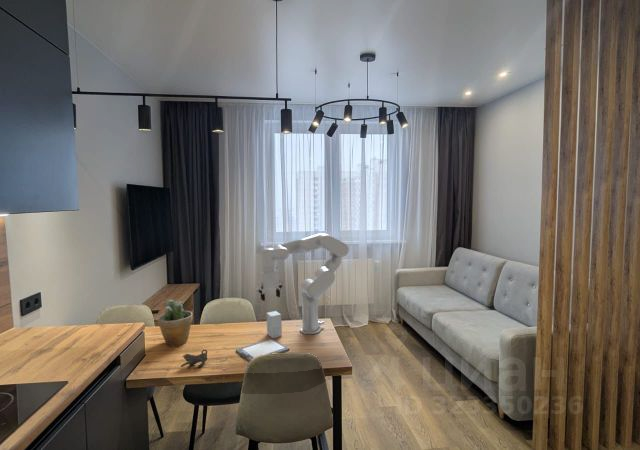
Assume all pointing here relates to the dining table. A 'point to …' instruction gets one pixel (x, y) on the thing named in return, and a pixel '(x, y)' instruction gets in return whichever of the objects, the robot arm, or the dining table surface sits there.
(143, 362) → the dining table surface
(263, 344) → the writing board
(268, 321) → the small box
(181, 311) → the potted plant
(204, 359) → the dog figurine
